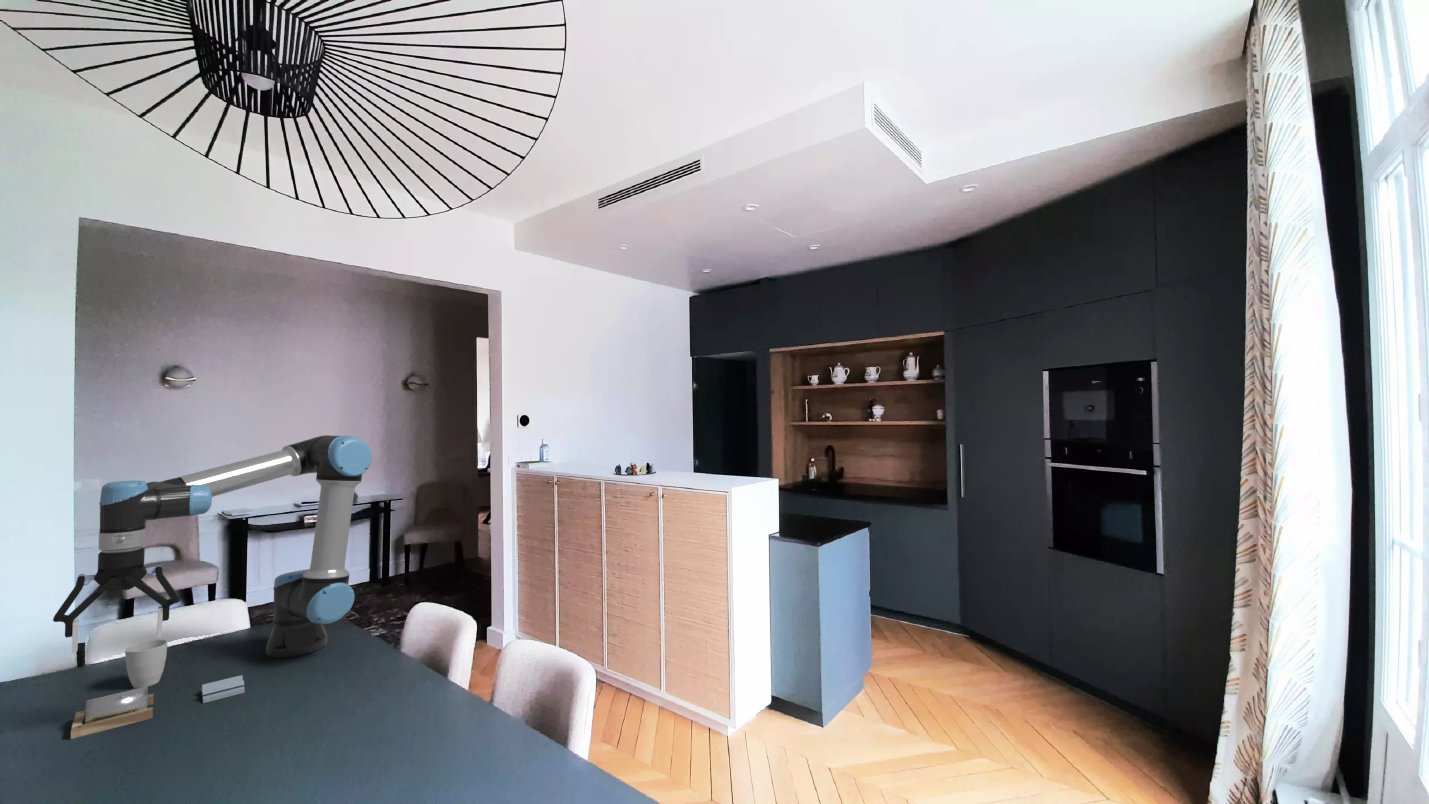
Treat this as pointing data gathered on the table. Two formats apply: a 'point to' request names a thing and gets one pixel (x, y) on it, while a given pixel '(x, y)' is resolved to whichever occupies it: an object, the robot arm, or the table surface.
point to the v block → (222, 688)
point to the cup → (146, 662)
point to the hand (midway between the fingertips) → (118, 642)
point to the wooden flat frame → (108, 721)
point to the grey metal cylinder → (116, 704)
